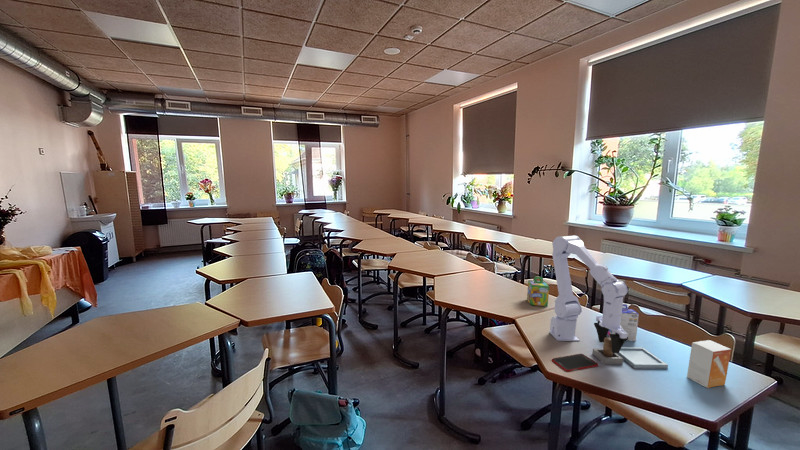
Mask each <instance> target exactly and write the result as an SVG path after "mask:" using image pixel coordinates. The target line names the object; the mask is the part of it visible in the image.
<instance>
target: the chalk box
mask: <svg viewBox="0 0 800 450" xmlns="http://www.w3.org/2000/svg"><path fill="white" fill-rule="evenodd" d="M549 293H550V286H549V284H548V283H547V282H545V281H544V277H543V276H534V277H533V279H532V280H528V281H527V292H526V300H527V302H528V304H529V305H530V306H538V307H548V304H549V296H550V295H549Z"/></svg>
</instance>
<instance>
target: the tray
mask: <svg viewBox="0 0 800 450" xmlns="http://www.w3.org/2000/svg"><path fill="white" fill-rule="evenodd" d="M617 354H618V355H619V356H621V357H622V358H623V361H625V362H626V363H628V365H630V366H631V367H632V368H633V369H667V370H668V368H669V364H668V363H666V362H664V361H663V360H662V359H660V358H659V357H658V356H656V355H654V354H653V353H652V352H650V351H649V350H648V349H646V348H644V347H641V346H640V347H639V346H634V347H633V346H622V347H621V349H620V351H619V353H617Z"/></svg>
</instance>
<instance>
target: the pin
mask: <svg viewBox="0 0 800 450" xmlns="http://www.w3.org/2000/svg"><path fill="white" fill-rule="evenodd" d="M602 349H603V354H602V355H604V356H605V357H613V352H612V342H611V338H610V337H609V336H607V337H604V342H603V346H602Z"/></svg>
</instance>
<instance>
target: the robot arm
mask: <svg viewBox="0 0 800 450" xmlns="http://www.w3.org/2000/svg"><path fill="white" fill-rule="evenodd" d="M551 244H552V259H553V260H552V263H553V266H554V267H553V268H554V273H555V277H556V278H555V280H556V285H557V291H558V292H557V293H558V296H557V297H556V298H555V300H554V308H553V309H554V314H555V316H552V317H551V318H550V325H549V331H548V333H549V334H550V335H551V336H552V337H553V338H554V339H555V340H556V341H558V342H559V341H563V342H565V341H566V342H567V341H568V342H569V341H570V342H579V341H580V339H579V338H578V337H577V336H576V332H577V331H576V330H577V321H578V320H577V319H578V318H579V315H581V314H582V311H583V310H582V308H583V307H582V305H581V304H580V301H579V298H578V297H577V296H576V295H574V291H573V286H572V279H571V274H570V269H569V262H568V257H570V255H576V256H577V257H578V258H579V259H580V260H581V262H583V263H584V264H585V266H586V267H588V268H589V274H590V275H591V276H592V277H593V279H594V280H595V281H596V282H597V284H598V285H599V286H600V287H601V293H602V295H603V310H602V315H596V316H595V321H596V322H594V323H593V325H594V327H595V330H596V333H597V337H598V342H599V343H604V337H608V335H607V334H608V331H609V329H610V330H612V331H613V332H615V334H609V335H610V338H611V342H612V352H613V353H619V351H620V349H621V347H623V345H624V344H625V342H627V341H629V340H628V337H627V333H626V332H625V331H624V330H623V328H622V327H621V326H620V324H621V314H622V308H623V306H622V305H623V304H624V297H625V296H626V295H627V294H628V292H629V290H628V286H627V285H626V283H625V282H624V281H623V280H621V279H617V277H615V276H614V275H613V273H611V271H609V268H608V266H605V265H604V264H600V263H598V262H597V261H596V260H595V258H594V257H593V255H592V254H591V253H590V252H589V250H588V249H587V247H586V246H585V244H584V241H583V240H582V239H581V238H580V237H579V236H578V235H577V234H576V235H575V234H574V235H566V236H561V235H560V236H556V237H555V239H553V241H552V243H551Z"/></svg>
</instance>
